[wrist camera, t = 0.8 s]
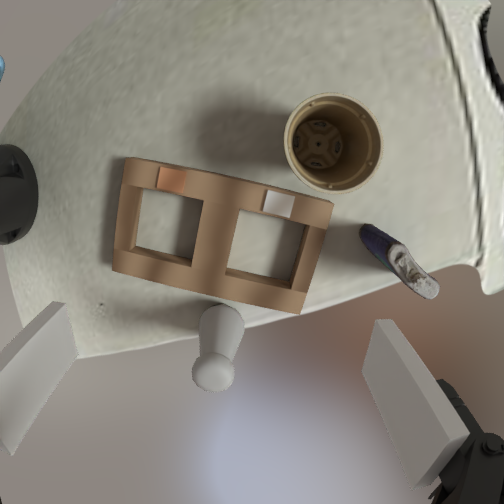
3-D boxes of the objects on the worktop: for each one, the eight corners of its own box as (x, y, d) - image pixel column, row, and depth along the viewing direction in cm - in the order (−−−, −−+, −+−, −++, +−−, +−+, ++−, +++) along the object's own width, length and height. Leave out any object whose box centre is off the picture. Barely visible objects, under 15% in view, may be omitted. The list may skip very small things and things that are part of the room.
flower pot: (365, 172, 35) (394, 179, 27) (292, 195, 36) (302, 207, 28) (342, 97, 33) (365, 83, 24) (266, 118, 34) (268, 108, 25)
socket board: (119, 263, 39) (111, 271, 36) (133, 157, 35) (124, 157, 32) (297, 305, 40) (300, 315, 38) (329, 200, 36) (334, 204, 34)
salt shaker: (198, 329, 42) (178, 393, 29) (205, 293, 40) (185, 351, 28) (240, 339, 42) (234, 405, 30) (249, 303, 41) (247, 365, 28)
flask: (411, 262, 39) (452, 295, 28) (397, 278, 39) (434, 315, 29) (367, 218, 37) (404, 242, 27) (352, 236, 38) (383, 265, 27)
